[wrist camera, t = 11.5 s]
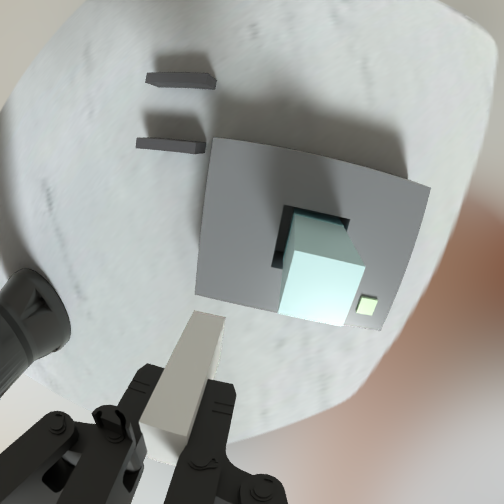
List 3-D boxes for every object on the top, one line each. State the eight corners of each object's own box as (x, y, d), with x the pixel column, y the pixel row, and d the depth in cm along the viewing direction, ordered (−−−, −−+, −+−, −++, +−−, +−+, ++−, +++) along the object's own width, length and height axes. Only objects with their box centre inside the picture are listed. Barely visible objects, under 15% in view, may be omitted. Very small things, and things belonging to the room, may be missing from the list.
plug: (284, 244, 28) (276, 313, 16) (294, 203, 26) (293, 249, 15) (325, 254, 27) (342, 327, 16) (337, 214, 26) (366, 266, 15)
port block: (209, 271, 31) (193, 295, 26) (227, 138, 26) (212, 137, 21) (370, 304, 30) (381, 332, 25) (409, 179, 24) (432, 188, 20)
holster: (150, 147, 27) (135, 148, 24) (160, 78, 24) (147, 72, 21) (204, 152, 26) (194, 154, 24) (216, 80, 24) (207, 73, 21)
